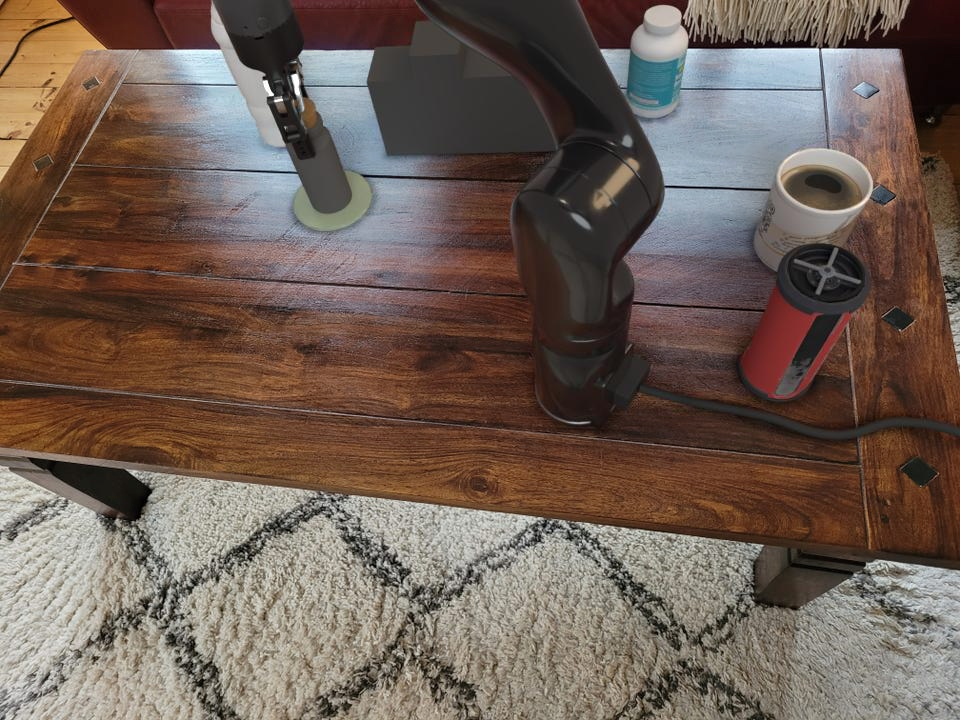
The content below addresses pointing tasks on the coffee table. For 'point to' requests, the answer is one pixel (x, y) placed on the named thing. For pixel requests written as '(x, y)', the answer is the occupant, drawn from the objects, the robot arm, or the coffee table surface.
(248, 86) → the water bottle
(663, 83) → the pill bottle
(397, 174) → the coffee table surface
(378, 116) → the camera
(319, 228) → the coaster
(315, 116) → the bottle
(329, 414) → the coffee table surface
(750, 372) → the speaker
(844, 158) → the mug
